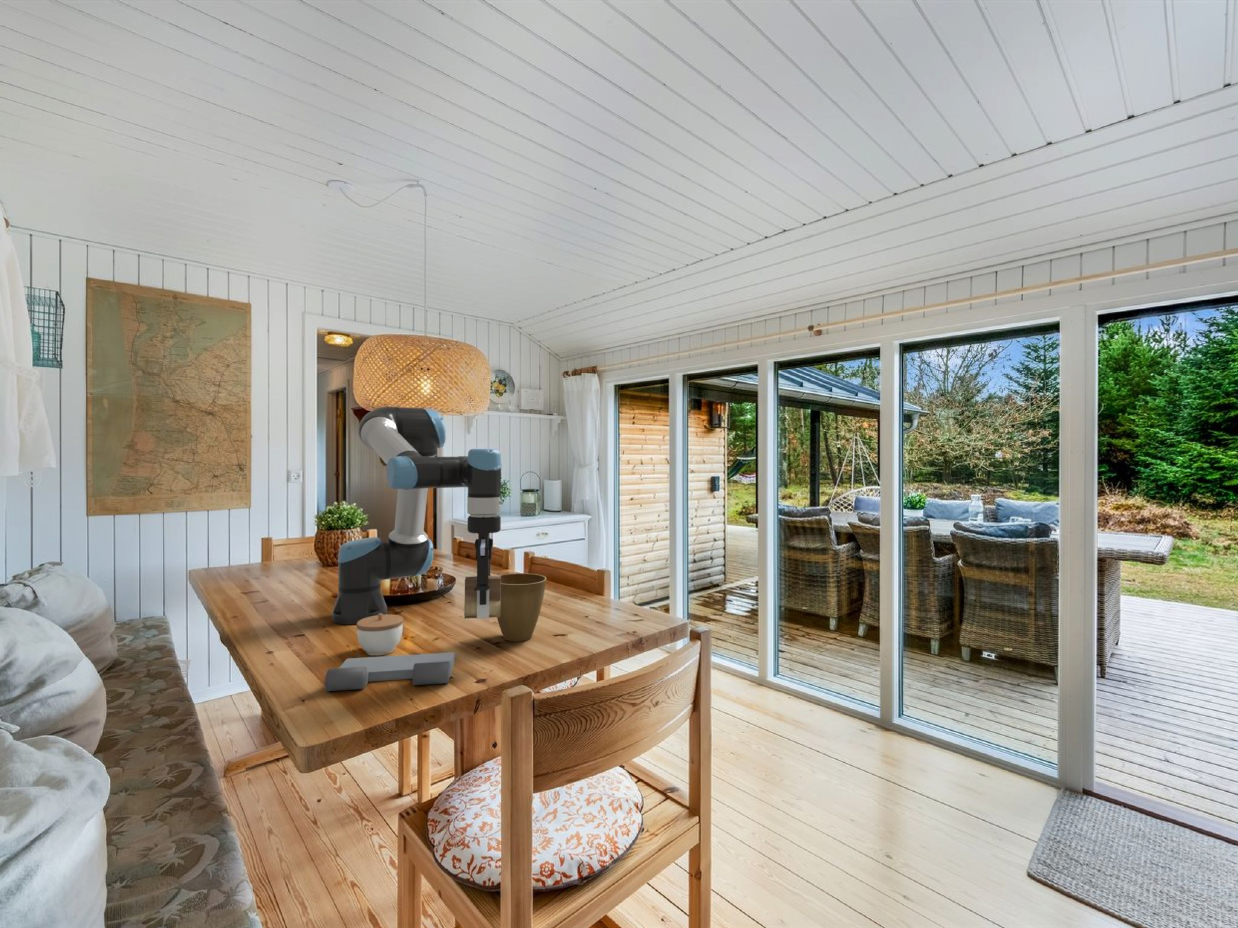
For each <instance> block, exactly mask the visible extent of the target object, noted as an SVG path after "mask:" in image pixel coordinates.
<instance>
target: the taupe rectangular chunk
mask: <svg viewBox="0 0 1238 928" xmlns="http://www.w3.org/2000/svg"><path fill="white" fill-rule="evenodd" d="M476 586H477V575H476V576H475V575H474V576H473V575H472V576H465V579H464V603H463V605H464V607H463V611H464V612H463V613H464V614H463V615H464V616H463V617H464V618H463V619H477V591H474V588H476ZM500 609H501V576H499V575H491V576H489V618H488V619H490V618H497V617H500Z"/></svg>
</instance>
